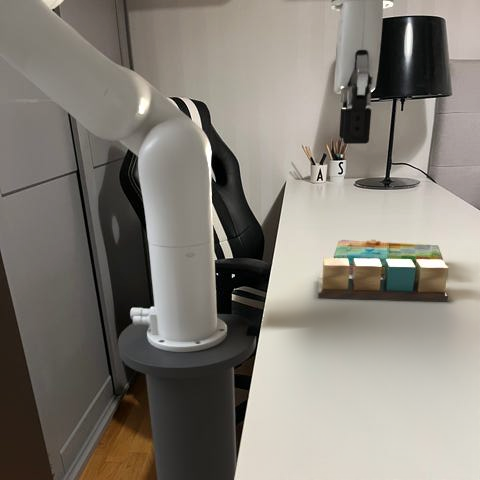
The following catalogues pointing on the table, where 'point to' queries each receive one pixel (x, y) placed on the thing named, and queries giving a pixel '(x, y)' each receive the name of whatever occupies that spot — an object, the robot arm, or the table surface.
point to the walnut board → (380, 294)
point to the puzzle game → (385, 251)
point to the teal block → (399, 275)
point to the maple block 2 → (366, 274)
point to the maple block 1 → (335, 273)
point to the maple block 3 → (430, 275)
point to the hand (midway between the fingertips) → (352, 140)
